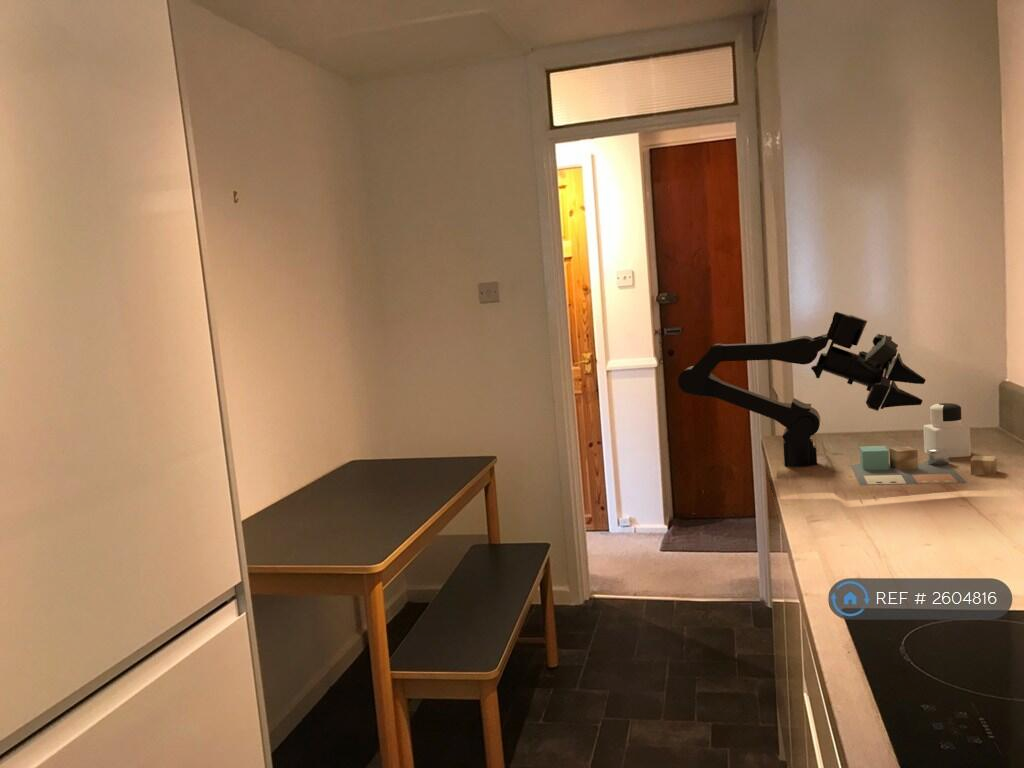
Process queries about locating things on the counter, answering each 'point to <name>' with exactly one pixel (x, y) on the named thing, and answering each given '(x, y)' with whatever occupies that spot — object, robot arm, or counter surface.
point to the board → (908, 475)
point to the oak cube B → (983, 465)
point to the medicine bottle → (947, 430)
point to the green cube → (874, 458)
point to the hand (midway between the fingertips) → (923, 392)
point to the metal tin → (938, 456)
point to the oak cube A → (903, 458)
